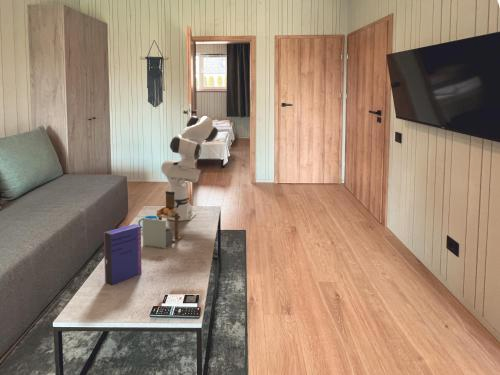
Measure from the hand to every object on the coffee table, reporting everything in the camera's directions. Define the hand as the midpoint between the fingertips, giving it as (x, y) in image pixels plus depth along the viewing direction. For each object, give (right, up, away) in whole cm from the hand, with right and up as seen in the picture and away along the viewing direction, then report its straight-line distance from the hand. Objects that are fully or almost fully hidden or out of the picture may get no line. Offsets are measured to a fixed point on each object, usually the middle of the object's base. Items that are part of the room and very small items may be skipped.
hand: (178, 185), depth 295 cm
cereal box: (-16, -44, -65) cm, 80 cm away
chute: (-5, -19, -10) cm, 22 cm away
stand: (-5, -31, -6) cm, 32 cm away
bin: (-9, -33, -16) cm, 38 cm away
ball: (-5, -15, -11) cm, 19 cm away
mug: (-21, -28, +11) cm, 36 cm away
